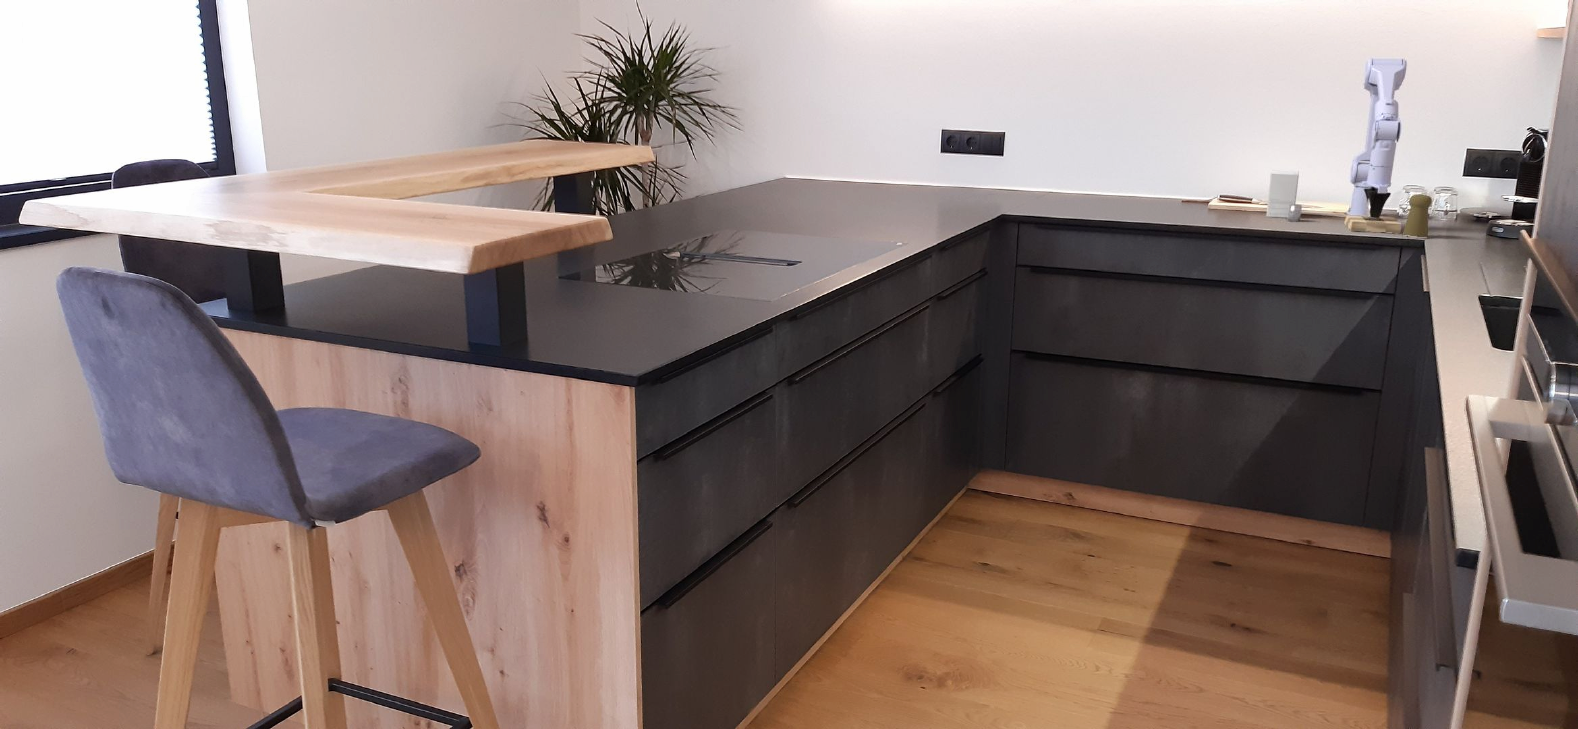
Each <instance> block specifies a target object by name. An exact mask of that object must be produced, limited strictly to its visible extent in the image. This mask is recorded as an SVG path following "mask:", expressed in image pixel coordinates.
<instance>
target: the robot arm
mask: <svg viewBox="0 0 1578 729" xmlns="http://www.w3.org/2000/svg"><path fill="white" fill-rule="evenodd" d="M1407 64H1408V63H1407V60H1406V59H1405V58H1373V57H1370V58H1368V59H1367V60H1366V64H1365V68H1364V78H1363V89H1364V90H1365V91H1368V92H1369V96H1370V104H1369V113H1368V120H1367V121H1368V122H1367V128H1366V129H1367V130H1366V136H1365V137H1366V138H1365V145H1364V150H1363V151H1362V152H1359V153H1358V154H1356V155H1355V156H1354V157H1353V159H1352V165H1351V168H1350V175H1349V181H1350V183H1351V184H1352V185H1353V186H1354V187H1353V191H1352V196H1351V202H1350V203H1351V204H1350V208H1349V211H1346V212H1345V213H1346V215H1363V216H1366V209H1367V202H1368V199H1369V201H1370V217H1371V218H1379V217H1380V216H1381V215H1382V212H1383V209H1384V207H1385V204H1386V202H1387V201H1388V199H1389V198H1390V196H1391V194H1392V193H1391V192H1388V188H1391V185H1392V175H1393V169H1394V162H1395V156H1396V148H1397V143H1398V142H1399V141H1400V138H1401V133H1402V121H1401V118H1400V117H1399V102H1398V101H1397V100H1396V99H1395V92H1396V91H1398V90H1400V88H1401V86H1402V85H1403V81H1404V80H1405V79H1406V78H1405V77H1406V74H1407V66H1408V65H1407Z"/></svg>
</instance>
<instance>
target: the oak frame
mask: <svg viewBox="0 0 1578 729" xmlns="http://www.w3.org/2000/svg"><path fill="white" fill-rule="evenodd" d="M1344 225H1345V227H1346V228H1348V230H1349V229H1350V230H1349V231H1350V232H1352V231H1371V232H1370V233H1372V232H1392V233H1400V234H1401V229H1402V223H1401V221H1399V220H1398V219H1396V218H1395V217H1394V216H1383V215H1382V216H1381V215H1380V217H1379V218H1378V221H1368V220H1365V216H1363V215H1348V214H1345V217H1344Z"/></svg>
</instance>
